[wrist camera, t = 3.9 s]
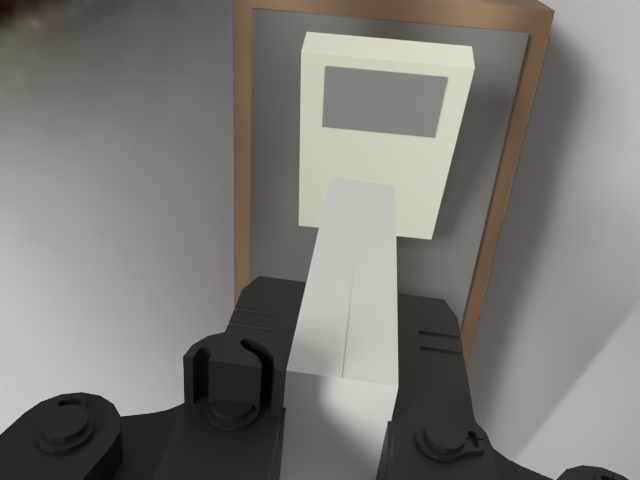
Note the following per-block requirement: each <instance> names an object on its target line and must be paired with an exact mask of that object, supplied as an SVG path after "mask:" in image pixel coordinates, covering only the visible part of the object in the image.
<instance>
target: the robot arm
mask: <svg viewBox="0 0 640 480" xmlns="http://www.w3.org/2000/svg"><path fill="white" fill-rule="evenodd" d="M460 338H461V335H460V329H459V323H458V317H457V316H456V315H455V313H454V312H453V311H452V309H451V308H450V307H449V305H448V304H447V303H446V301H445V300H444V299H437V298H430V297H423V296H416V295H408V294H401V293H397V249H396V186H394V185H386V184H378V183H370V182H363V181H355V180H347V179H340V178H332V177H331V178H330V182H329V187H328V191H327V195H326V200H325V204H324V208H323V213H322V217H321V221H320V226H319V230H318V234H317V239H316V243H315V247H314V252H313V256H312V260H311V265H310V269H309V274H308V278H307V282H301V281H293V280H286V279H279V278H272V277H264V276H258V277H257V278H255V279H254V280H253V281H252V282H251V283H249V284H248V285H247V286H246V287H244V288H243V289H242V291H241V294H240V296H239V299H238V301H237V304H236V306H235V310H234V311H233V314H232V316H231V319H230V321H229V325H228V326H227V329H226V331H225V332H223V333H219V334H215V335H211V336H207V337H206V338H204V339H202V340H200V341H199V342H197V343H195V344H193V345H192V346H191V348H190V349H189V350H188V351H187V353H186V354H185V355H184V357H183V363H184V400H185V402H184V403H183V404H181V405H179V406H177V407H174V408H171V409H169V410H166V411H161V412H156V413H150V414H141V415H132V416H123V417H120V415H119V413H118V411H117V409H116V408H115V406H114V404H113V403H111V402H109V401H108V400H106V399H104V398H103V397H101V396H99V395H93V394H88V393H82V392H81V393H71V394H61V395H59V396H56V397H53V398H50V399H48V400H45V401H42V402H40V403H39V404H37V405H36V406H34V407H33V408H31V409H30V410H28V411H27V412H25V413H24V414H23V415H22V416H21V417H20V418H18V419H17V420H16V421H15V422H14V423H13V424H12V425H11V426H10V427H9V428H7V429H6V430H5V431H4V432H3V433H2V434H1V435H0V480H553V479H551V478H548V477H546V476H543V475H541V474H539V473H536V472H534V471H531V470H529V469H526V468H524V467H522V466H520V465H518V464H516V463H514V462H512V461H510V460H508V459H507V458H505V457H504V456H503V455H501V454H500V453H499V452H497V451H496V450H494V448H493V447H492V446H491V443H490V441H489V439H488V436H487V434H486V433H485V431H484V430H483V429H482V428H481V427H480V426H479V425H478V424H477V423H476V422H475V419H474V414H473V408H472V402H471V396H470V390H469V384H468V378H467V372H466V365H465V359H464V357H463V347H462V341H461V340H460ZM557 480H628V479H627V478H625V477H624V476H622V475H619V474H617V473H614V472H612V471H609V470H607V469H604V468H601V467H593V466H584V465H582V466H578V467H575V468H570V469H566V471H565V472H564V473H563V474H562V475H561V476H560V477H559V478H558V479H557Z"/></svg>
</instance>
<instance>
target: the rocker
mask: <svg viewBox="0 0 640 480" xmlns="http://www.w3.org/2000/svg"><path fill="white" fill-rule="evenodd" d="M474 69H475V65H474V58H473V50H472V46H463V45H452V44H440V43H429V42H418V41H407V40H395V39H384V38H373V37H362V36H351V35H339V34H328V33H317V32H306V36H305V40H304V43H303V47H302V51H301V96H300V167H299V226H307V227H316V228H319V226H320V221H321V217H322V213H323V208H324V204H325V200H326V195H327V191H328V187H329V182H330V178H331V177H332V178H340V179H347V180H355V181H363V182H370V183H378V184H386V185H394V186H396V236H401V237H410V238H420V239H429V240H431V239H432V235H433V231H434V227H435V224H436V220H437V216H438V212H439V208H440V204H441V200H442V196H443V192H444V188H445V184H446V180H447V176H448V172H449V168H450V164H451V160H452V156H453V152H454V148H455V144H456V140H457V137H458V133H459V129H460V125H461V121H462V117H463V113H464V109H465V105H466V101H467V97H468V93H469V89H470V85H471V81H472V77H473V73H474Z"/></svg>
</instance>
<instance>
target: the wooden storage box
mask: <svg viewBox="0 0 640 480" xmlns="http://www.w3.org/2000/svg"><path fill="white" fill-rule="evenodd" d="M554 12H555V11H554V10H552V9H551V8H549V7H547V6H546V5H544V4H543V3H541V2H539V1H538V0H233V73H234V264H235V306H236V304H237V301H238V299H239V296H240V294H241V291H242V289H243V288H244V287H246V286H247V285H248V284H249V283H251V282H252V281H253V280H254V279H255V278H257V277H258V276H264V277H272V278H279V279H286V280H293V281H301V282H307V278H308V274H309V269H310V265H311V260H312V256H313V252H314V247H315V243H316V239H317V234H318V230H319V228H316V227H307V226H299V167H300V96H301V51H302V47H303V43H304V40H305V36H306V32H317V33H328V34H339V35H351V36H362V37H373V38H384V39H395V40H407V41H418V42H429V43H440V44H452V45H463V46H472V50H473V58H474V65H475V69H474V73H473V77H472V81H471V85H470V89H469V93H468V97H467V101H466V105H465V109H464V113H463V117H462V121H461V125H460V129H459V133H458V137H457V140H456V144H455V148H454V152H453V156H452V160H451V164H450V168H449V172H448V176H447V180H446V184H445V188H444V192H443V196H442V200H441V204H440V208H439V212H438V216H437V220H436V224H435V227H434V231H433V235H432V239H431V240H429V239H420V238H410V237H401V236H396V249H397V293H401V294H408V295H416V296H423V297H430V298H437V299H444V300H445V301H446V303H447V304H448V305H449V307H450V308H451V309H452V311H453V312H454V313H455V315H456V316H457V317H458V323H459V329H460V335H461V338H460V340H461V341H462V347H463V357H464V359H465V365H466V367H467V363H468V359H469V355H470V351H471V347H472V343H473V339H474V335H475V331H476V327H477V323H478V319H479V315H480V311H481V307H482V303H483V299H484V295H485V291H486V287H487V284H488V280H489V276H490V272H491V268H492V265H491V264H492V260H493V256H494V252H495V248H496V244H497V240H498V236H499V232H500V228H501V224H502V220H504V216H505V212H506V208H507V204H508V200H509V196H510V192H511V188H512V184H513V180H514V176H515V172H516V168H517V164H518V160H519V156H520V152H521V148H522V144H523V140H524V136H525V132H526V128H527V124H528V120H529V116H530V112H531V108H532V104H533V100H534V96H535V92H536V88H537V84H538V80H539V76H540V72H541V68H542V64H543V60H544V56H545V52H546V48H547V44H548V40H549V32H550V28H551V24H552V20H553V16H554Z"/></svg>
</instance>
